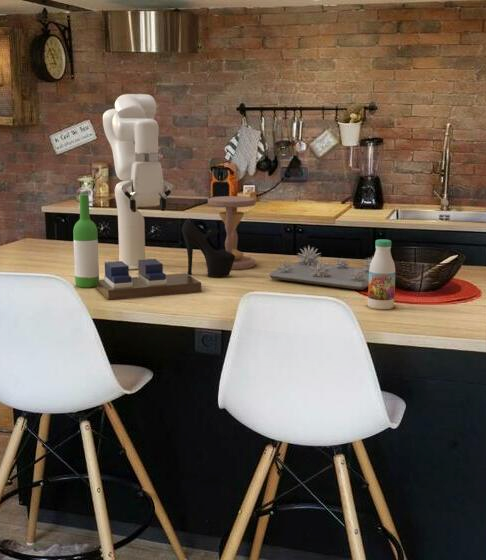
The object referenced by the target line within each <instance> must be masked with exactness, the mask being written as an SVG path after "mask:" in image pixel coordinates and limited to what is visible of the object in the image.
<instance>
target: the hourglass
mask: <svg viewBox="0 0 486 560" xmlns="http://www.w3.org/2000/svg"><path fill="white" fill-rule="evenodd" d="M207 205H208V206H210V207H216V208H225V211H219V212H218V214H219V218H220V219H221V220H222V222H223V223H224V229H225V232H226V237H225V241H224V247H225V249H224V250H226V251H228V252H230V253H232V254H234V256H235V259H234V262H233V265H232V268H231V271H235V270H246V269H247V270H248V269H251V268H254V267H255V266H256V260H255V258H253V257H250V256H245V255H244V252H242V251H240V250H238V241H239V236H238V232H237V227H238V226H239V224H240V222H241V220H242V219H243V218H244V215H245V212H244V211H238V208H248V207H253V206H254V207H255V205H256V199H255V197H251V196H239V195H224V196H223V195H222V196H221V195H220V196H211V197H208V198H207Z"/></svg>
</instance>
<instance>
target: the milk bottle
mask: <svg viewBox="0 0 486 560" xmlns="http://www.w3.org/2000/svg"><path fill="white" fill-rule="evenodd" d="M374 244H375V245H374V246H375V252H374V255H373V256H374V257H373V256H372V257H373V259H372V258H371V260H372V261H371V264H370V268H369V283H368V287H367V289H368V290H367V306H368V307H369V308H371V309H375V310H390V309H393V308H394V306H395V292H396V291H395V290H396V289H395V288H396V266H395V261H394V259H393V257H392V253H391V248H392V240H390V239H382V238H381V239H376V240H375V243H374Z"/></svg>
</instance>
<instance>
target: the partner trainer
mask: <svg viewBox="0 0 486 560" xmlns="http://www.w3.org/2000/svg"><path fill="white" fill-rule="evenodd" d="M131 277H132V276H131V275H130V269H129V266H128V265H126V264H125V263H123V262H122V261H119V260H118V261H104V276H103V279H104V281H106V282H107V283H108V284H109V285H110V286H111V287H112V288H113V289H116V288H128V287H133V283H132V282H131Z"/></svg>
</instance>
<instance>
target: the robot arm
mask: <svg viewBox="0 0 486 560" xmlns="http://www.w3.org/2000/svg"><path fill="white" fill-rule="evenodd" d="M157 107H158V106H157V102H156V100H155V98H154V97H153V96H152V95H150V94H148V93H147V94H146V93H126V94H121V95H119V96H118V97H117V98H116V99H115V102H114V108H111V109H110V108H109V109H107V110H106V111H104V113H103V115H102V126H103V131H104V134H105V137H106V140H107V141H108V143H109V145H110V148H111V151H112V158H113V164H114V170H115V176H116V177H117V179H119V180H120V181H119V182H118V183H116V185H115V187H114V198H115V203H116V209H117V210H116V211H117V228H118V229H117V230H118V233H117V234H118V261H122V262H123V263H125V264H126V265H128V266H129V270H138V260H146V233H145V231H146V229H145V228H146V227H145V226H146V225H145V217H144V215H143V214H142V213H141V212H140V211H139V209H138V208H142V207H143V208H145V207H146V208H147V207H158V206H159V210H160V211H162V212H165V209H166V208H167V201H166V200H167V198H168V197H169V196H170V195H171V192H172V191H173V188H174V184H173V183H170V182H168V181H167V180H165V179H164V175H163V168H162V164H161V162H160V160H162V159H163V158H164V155H163V154H160V152H159V134H160V128H159V127H160V126H159V123H158V121H157V120H156V119H155V118H156V115H157ZM165 186H166V187H167V189H166V190H165V191H164V189H165Z"/></svg>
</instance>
